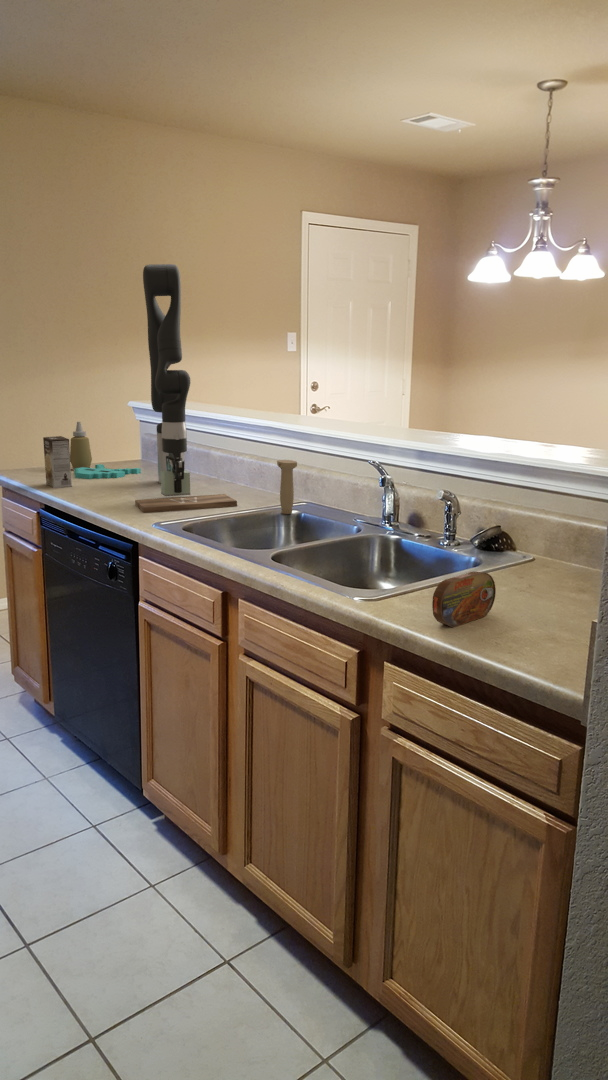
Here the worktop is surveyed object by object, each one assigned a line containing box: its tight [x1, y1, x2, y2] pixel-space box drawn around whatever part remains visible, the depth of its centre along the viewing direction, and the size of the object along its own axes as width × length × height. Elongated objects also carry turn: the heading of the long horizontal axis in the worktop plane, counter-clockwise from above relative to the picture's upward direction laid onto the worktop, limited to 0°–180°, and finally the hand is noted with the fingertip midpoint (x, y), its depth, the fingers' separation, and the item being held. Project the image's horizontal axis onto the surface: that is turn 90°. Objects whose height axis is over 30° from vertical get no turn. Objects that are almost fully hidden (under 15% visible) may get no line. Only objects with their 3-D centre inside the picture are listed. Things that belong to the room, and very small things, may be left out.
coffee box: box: [42, 435, 73, 489], centre depth 270 cm, size 9×6×16 cm
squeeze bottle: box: [69, 421, 93, 470], centre depth 302 cm, size 8×8×18 cm
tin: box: [431, 571, 497, 628], centre depth 143 cm, size 15×3×8 cm, turn 130°
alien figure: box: [73, 463, 142, 480], centre depth 294 cm, size 20×2×20 cm
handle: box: [276, 459, 298, 515], centre depth 229 cm, size 5×6×15 cm
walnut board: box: [134, 493, 238, 513], centre depth 240 cm, size 12×28×2 cm, turn 113°
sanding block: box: [160, 469, 191, 497], centre depth 250 cm, size 5×8×7 cm, turn 113°
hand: (175, 490), depth 251 cm, fingers closed on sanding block, 5 cm apart
